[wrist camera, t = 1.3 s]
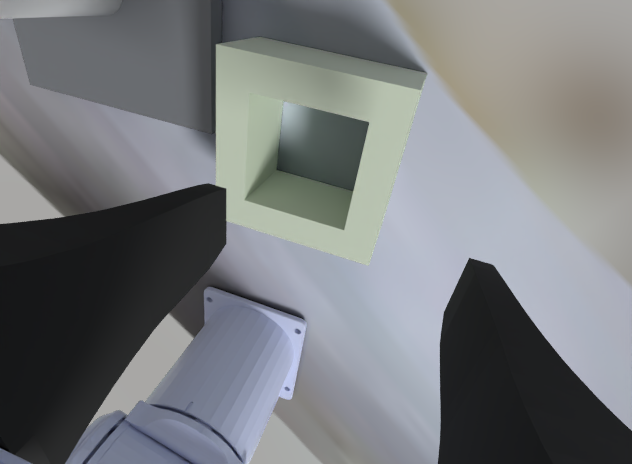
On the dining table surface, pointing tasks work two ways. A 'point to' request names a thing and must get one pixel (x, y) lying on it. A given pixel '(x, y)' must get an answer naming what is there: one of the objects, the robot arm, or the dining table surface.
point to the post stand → (125, 53)
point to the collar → (264, 134)
